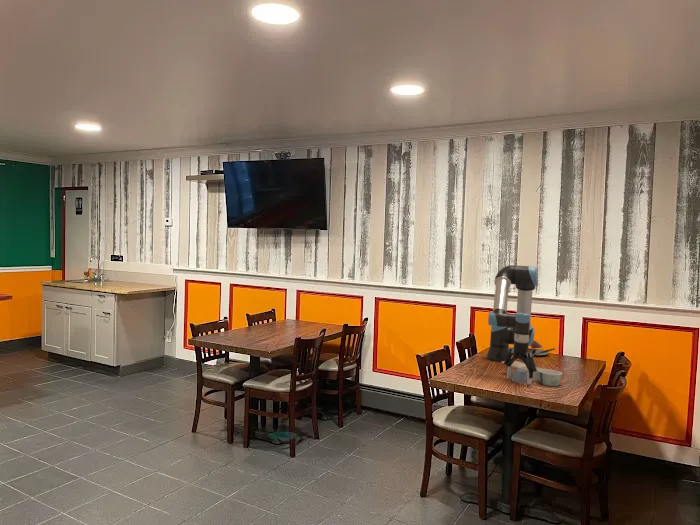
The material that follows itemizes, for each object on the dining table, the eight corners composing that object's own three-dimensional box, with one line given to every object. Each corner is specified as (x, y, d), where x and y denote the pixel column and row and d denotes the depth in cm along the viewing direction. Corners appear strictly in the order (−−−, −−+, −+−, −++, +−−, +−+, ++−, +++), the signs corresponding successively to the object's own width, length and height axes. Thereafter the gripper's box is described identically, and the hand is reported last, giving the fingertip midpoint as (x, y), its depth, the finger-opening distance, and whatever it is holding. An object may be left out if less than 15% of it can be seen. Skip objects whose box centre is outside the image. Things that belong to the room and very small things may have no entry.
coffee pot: (516, 371, 319) (517, 346, 318) (516, 367, 330) (517, 343, 329) (555, 376, 312) (556, 350, 312) (554, 372, 323) (555, 346, 323)
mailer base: (515, 377, 303) (516, 366, 303) (529, 375, 309) (529, 365, 309) (530, 381, 295) (530, 370, 295) (543, 380, 301) (544, 369, 301)
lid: (516, 366, 303) (516, 367, 303) (529, 364, 309) (529, 366, 309) (501, 361, 312) (501, 362, 312) (514, 359, 318) (514, 361, 318)
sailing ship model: (542, 359, 361) (543, 342, 361) (500, 352, 377) (501, 336, 376) (552, 353, 385) (553, 337, 384) (513, 347, 400) (513, 332, 400)
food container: (549, 387, 285) (549, 374, 285) (532, 381, 296) (533, 369, 296) (566, 386, 290) (567, 373, 290) (549, 380, 301) (550, 368, 301)
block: (512, 380, 295) (512, 369, 295) (518, 380, 298) (519, 369, 298) (519, 383, 291) (520, 371, 291) (525, 382, 294) (526, 371, 294)
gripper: (498, 338, 302) (496, 376, 303) (535, 346, 281) (533, 387, 282) (508, 337, 306) (505, 375, 307) (545, 345, 285) (542, 386, 286)
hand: (518, 381), depth 294 cm, fingers open, 13 cm apart
